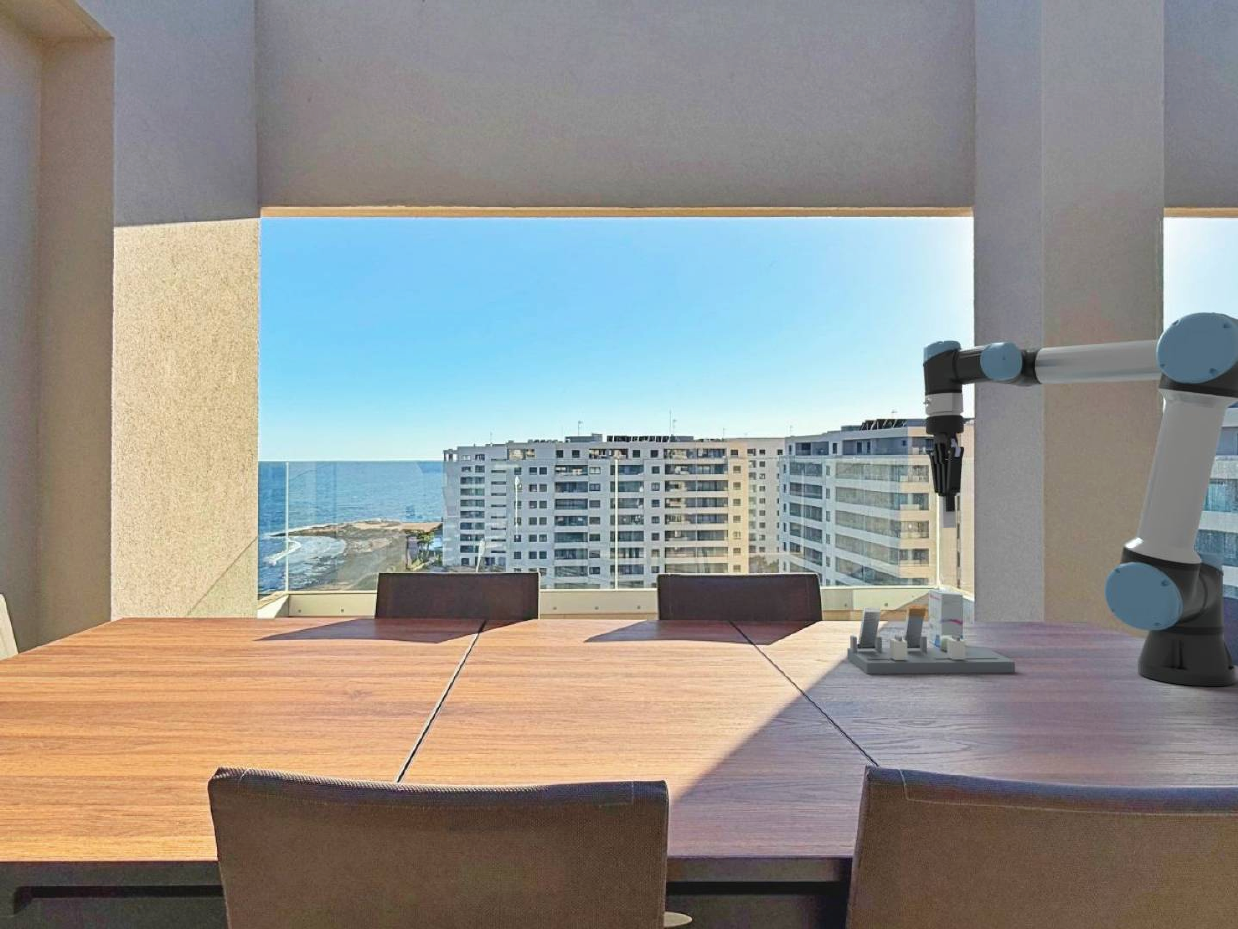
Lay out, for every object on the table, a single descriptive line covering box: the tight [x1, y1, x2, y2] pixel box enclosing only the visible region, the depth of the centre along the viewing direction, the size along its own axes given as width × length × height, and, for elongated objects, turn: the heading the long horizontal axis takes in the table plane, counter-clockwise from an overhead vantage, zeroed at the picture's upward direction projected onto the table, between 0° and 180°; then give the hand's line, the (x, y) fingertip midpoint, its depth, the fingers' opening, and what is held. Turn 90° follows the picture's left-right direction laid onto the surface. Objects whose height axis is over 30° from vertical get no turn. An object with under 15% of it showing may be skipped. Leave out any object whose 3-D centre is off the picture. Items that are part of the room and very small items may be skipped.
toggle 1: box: [857, 607, 882, 649], centre depth 174 cm, size 3×1×10 cm, turn 90°
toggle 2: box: [902, 604, 927, 648], centre depth 174 cm, size 3×1×10 cm, turn 90°
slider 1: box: [889, 635, 907, 660], centre depth 168 cm, size 2×3×4 cm
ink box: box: [928, 588, 964, 648], centre depth 192 cm, size 9×5×12 cm, turn 179°
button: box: [939, 635, 961, 651], centre depth 176 cm, size 4×4×2 cm
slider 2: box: [947, 635, 966, 660], centre depth 168 cm, size 2×3×4 cm
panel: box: [846, 634, 1016, 675], centre depth 172 cm, size 28×14×5 cm, turn 90°
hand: (948, 527), depth 183 cm, fingers closed
